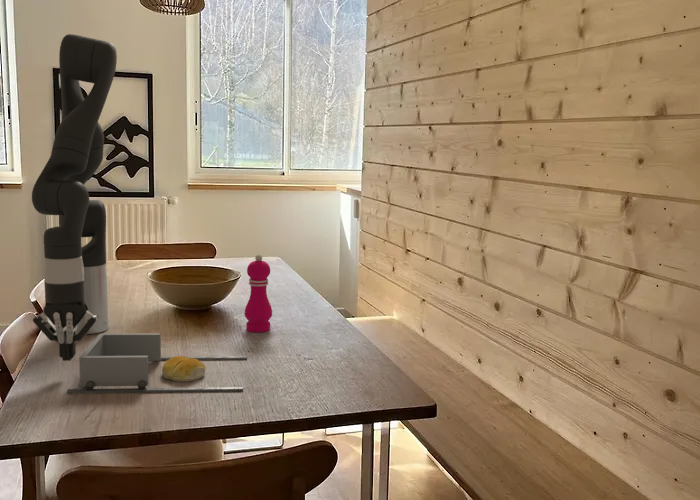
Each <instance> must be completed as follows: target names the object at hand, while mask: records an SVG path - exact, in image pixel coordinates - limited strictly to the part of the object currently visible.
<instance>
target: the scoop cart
mask: <svg viewBox="0 0 700 500" xmlns="http://www.w3.org/2000/svg"><path fill="white" fill-rule="evenodd" d="M161 335H162V334H161V333H159V332H157V333H156V332H153V333H149V332H148V333H145V332H144V333H143V332H141V333H138V332H137V333H132V332H131V333H98V335H97V337H95V339H94V340H93V341H92V343H90V345H89V346H88V347H87V348H86V349H85V350H84V352H83V353H82V354H81V355H80V356H79V357H78V359H79V379H80V380H79V381H80V382H79V385H80V387H84V388H85V389H95V387H137V388H147V387H148V386H149V384H150V383H149V381H150V380H149V379H150V378H149V362H150V361H152V362H160V361H162V360H161V357H162V343H161V341H162V338H161Z"/></svg>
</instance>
